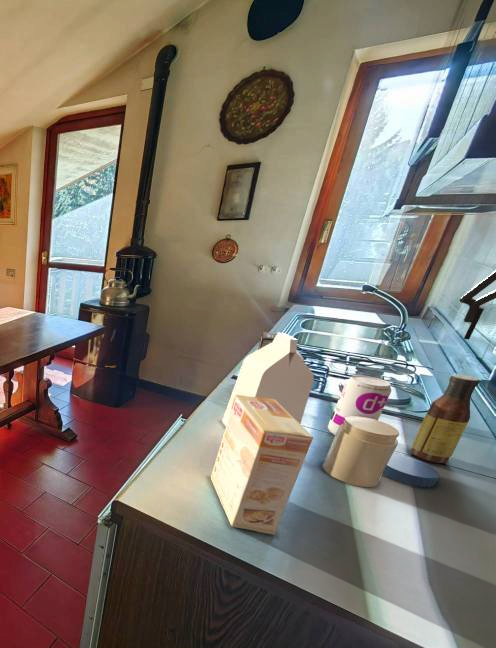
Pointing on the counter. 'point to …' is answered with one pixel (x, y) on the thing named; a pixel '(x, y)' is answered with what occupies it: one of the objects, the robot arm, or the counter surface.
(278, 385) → the milk
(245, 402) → the coffeecake box
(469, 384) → the sauce bottle
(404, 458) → the lid
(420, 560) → the counter surface
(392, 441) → the jar
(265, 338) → the coffee box
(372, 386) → the supplement can
